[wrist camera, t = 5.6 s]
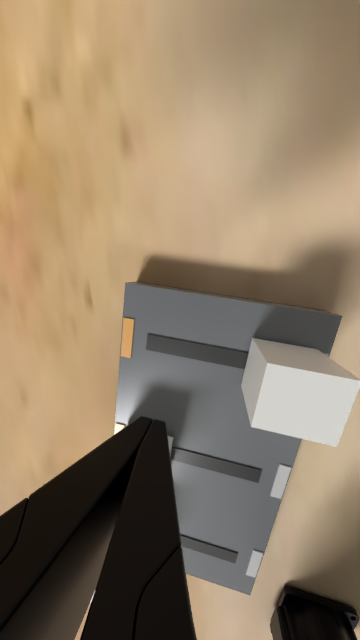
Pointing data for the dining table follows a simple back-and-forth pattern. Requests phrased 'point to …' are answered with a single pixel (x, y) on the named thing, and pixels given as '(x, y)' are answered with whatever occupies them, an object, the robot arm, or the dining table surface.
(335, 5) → the dining table surface
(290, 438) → the breaker panel
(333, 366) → the handle
